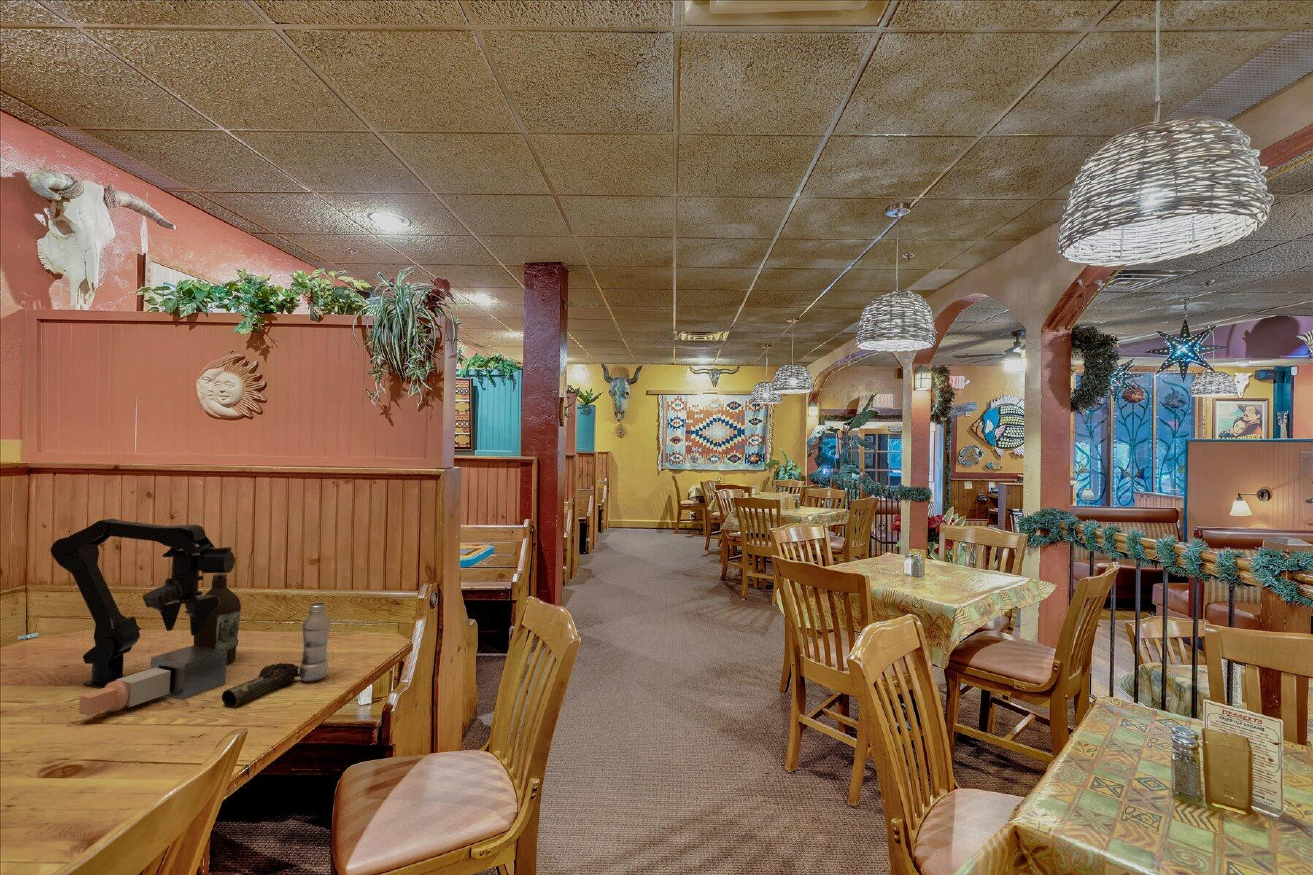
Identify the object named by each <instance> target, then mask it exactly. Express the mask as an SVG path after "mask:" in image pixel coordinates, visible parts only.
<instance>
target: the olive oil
mask: <svg viewBox="0 0 1313 875" xmlns="http://www.w3.org/2000/svg"><path fill="white" fill-rule="evenodd" d="M227 574H228V573H213V575H212V579H211V588H210V589H209V590H208V591H207V592H206V593H205V594H204V595H213V596H217V597H218V598H220V604H219V606H218V607H216V608H215V609H214V610H212V611H211V613H210V614H209V616H208V617H207V618H206V620H205V621H204V623H203V625H202V626H201V628H200V630H199V631H198V633H197V634H196V635H193V645H198V646H203V647H209V648H214V649H220V650H225V651H227V661H226V666H227V665H230V664H232V663H234V662H235V660H236V654H237V647H238V644H239V639H238V635H239V626H240V620H241V619H240V617H241V610H242V604H241V600H240V597H238V595H237V594H235V593H234V592H233V591H232V590H230V589H229V587H228V586H227V584H228V583H227V582H228V578H227V577H228V576H227Z"/></svg>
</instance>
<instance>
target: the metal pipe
mask: <svg viewBox="0 0 1313 875" xmlns="http://www.w3.org/2000/svg"><path fill="white" fill-rule="evenodd" d="M299 670H300V666H299V665H297V666H296V664H294V663H290V662H289V663H286V662H285V663H284V662H283V663H282V662H280V663H276V664H275V663H273V664H270V665H266V666H264V667H263V668H262V669H260V672H259V675H258V677H256V678H253V679H251V680H248V681H245V682H243V683H241V684H237V685H236V686H233V687H229V688H227V689H225V690H224V691H223V693H221V694H222V695H221V700H222V703H223V705H224V706H225V707H227V708H231V709H234V708H236V707H238V706H240V705H242V704H243V703H246V702H248V701H251V700H252V699H255V698H256V697H259V696H260V695H262V694H265V693H266V692H268V691H270V690H273V689H279V688H281V687H284V686H285V687H286V686H291V685H292V682H294V681H295V678H298V677H299V678H300V675H299Z"/></svg>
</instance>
